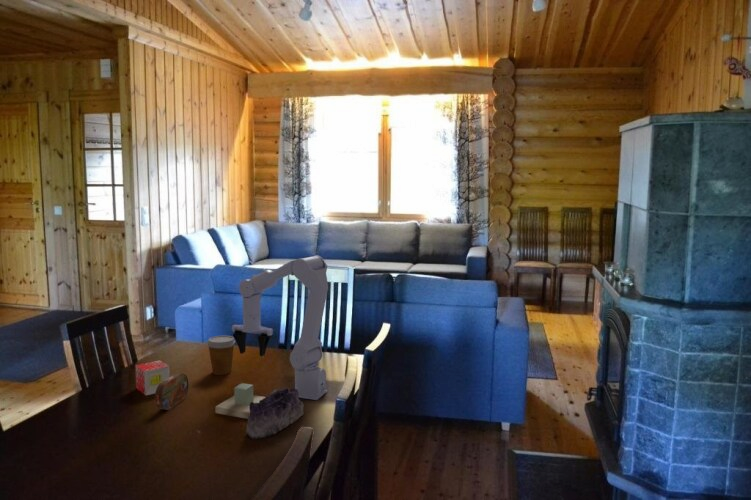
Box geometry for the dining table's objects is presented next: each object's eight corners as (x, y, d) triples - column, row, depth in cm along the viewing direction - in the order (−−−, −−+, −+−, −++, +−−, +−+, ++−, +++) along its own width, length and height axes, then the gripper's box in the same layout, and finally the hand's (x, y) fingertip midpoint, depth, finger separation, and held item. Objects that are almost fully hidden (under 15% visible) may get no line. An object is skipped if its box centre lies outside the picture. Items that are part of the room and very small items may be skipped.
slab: (272, 406, 179) (272, 398, 179) (251, 421, 168) (250, 412, 168) (238, 400, 183) (238, 392, 183) (215, 414, 172) (215, 406, 172)
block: (253, 400, 177) (253, 384, 176) (246, 405, 173) (246, 389, 172) (241, 399, 178) (241, 383, 177) (234, 404, 174) (234, 387, 173)
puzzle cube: (145, 395, 185) (144, 371, 184) (136, 388, 191) (135, 365, 190) (170, 389, 190) (169, 366, 189) (160, 383, 196) (160, 360, 195)
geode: (275, 445, 153) (269, 408, 152) (238, 442, 157) (232, 406, 156) (312, 412, 171) (307, 379, 170) (277, 411, 176) (272, 379, 175)
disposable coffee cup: (241, 370, 209) (240, 337, 207) (221, 378, 201) (220, 344, 199) (222, 365, 214) (221, 333, 212) (202, 373, 206) (201, 339, 204)
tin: (163, 414, 171) (162, 386, 170) (153, 413, 171) (152, 385, 170) (189, 395, 185) (189, 369, 184) (180, 394, 186) (179, 369, 185)
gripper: (226, 315, 194) (227, 355, 196) (264, 319, 189) (265, 360, 191) (238, 310, 201) (238, 349, 203) (275, 314, 196) (276, 353, 198)
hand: (252, 354), depth 197 cm, fingers open, 7 cm apart
